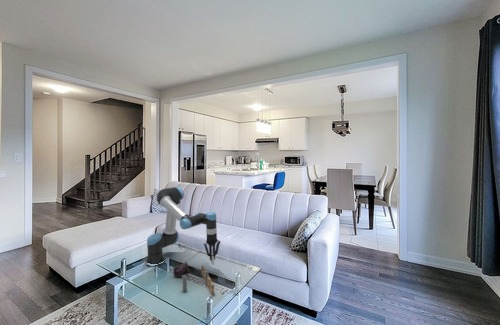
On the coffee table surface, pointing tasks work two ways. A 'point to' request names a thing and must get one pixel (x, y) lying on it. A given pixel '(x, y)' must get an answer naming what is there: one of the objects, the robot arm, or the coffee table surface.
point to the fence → (210, 285)
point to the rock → (181, 270)
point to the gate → (204, 273)
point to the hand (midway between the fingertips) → (212, 264)
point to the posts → (184, 281)
